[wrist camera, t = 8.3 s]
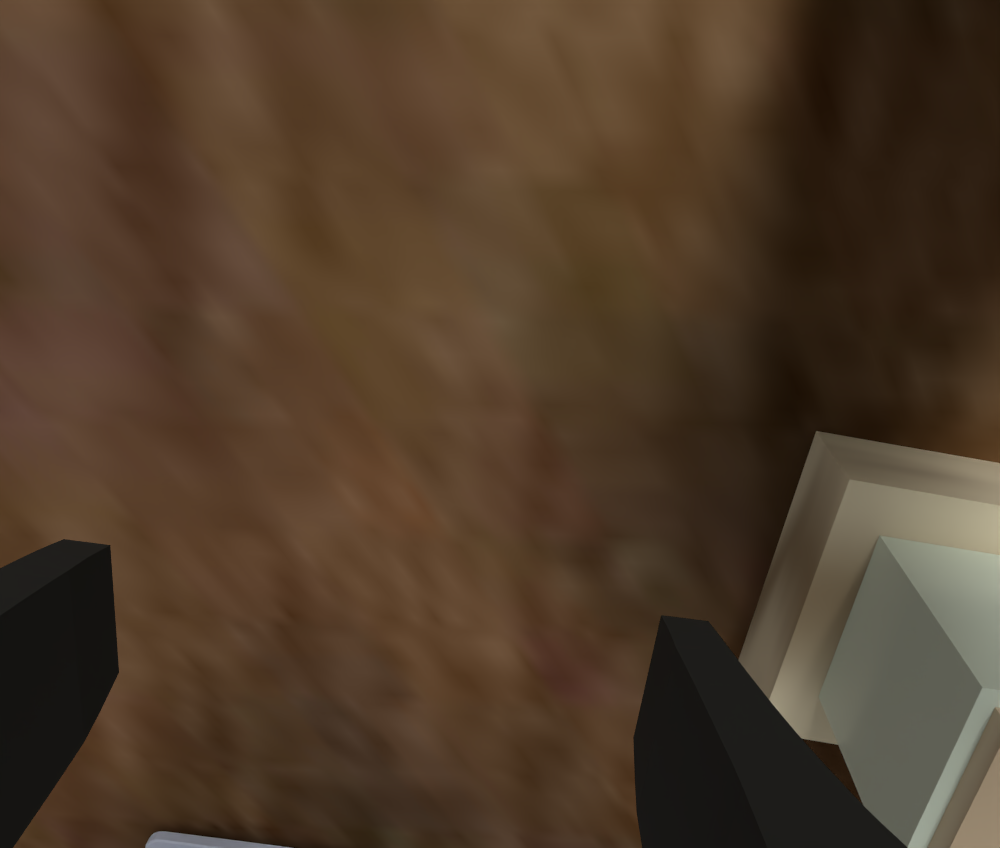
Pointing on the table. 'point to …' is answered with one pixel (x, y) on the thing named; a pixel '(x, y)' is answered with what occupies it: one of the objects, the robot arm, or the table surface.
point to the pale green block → (923, 693)
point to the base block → (853, 554)
